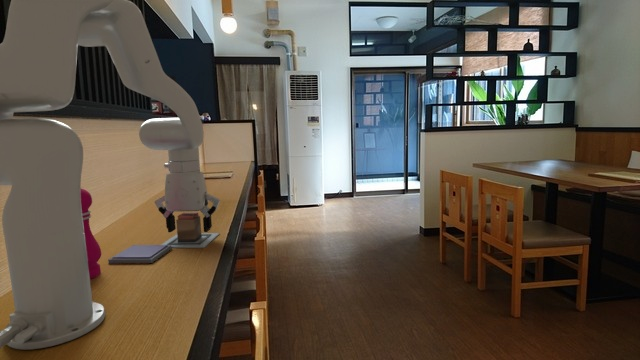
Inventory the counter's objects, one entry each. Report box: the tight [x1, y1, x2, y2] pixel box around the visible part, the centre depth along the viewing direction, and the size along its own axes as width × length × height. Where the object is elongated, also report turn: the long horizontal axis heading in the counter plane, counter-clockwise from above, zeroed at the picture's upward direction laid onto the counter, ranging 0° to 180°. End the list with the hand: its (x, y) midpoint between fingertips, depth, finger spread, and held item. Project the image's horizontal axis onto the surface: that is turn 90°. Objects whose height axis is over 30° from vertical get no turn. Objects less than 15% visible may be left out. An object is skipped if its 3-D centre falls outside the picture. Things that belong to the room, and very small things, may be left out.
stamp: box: [175, 211, 202, 242], centre depth 101 cm, size 5×5×7 cm
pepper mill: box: [81, 188, 102, 280], centre depth 77 cm, size 7×7×20 cm
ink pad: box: [107, 244, 172, 265], centre depth 90 cm, size 10×10×1 cm
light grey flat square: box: [160, 232, 220, 249], centre depth 101 cm, size 12×12×1 cm
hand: (189, 230), depth 101 cm, fingers open, 9 cm apart
